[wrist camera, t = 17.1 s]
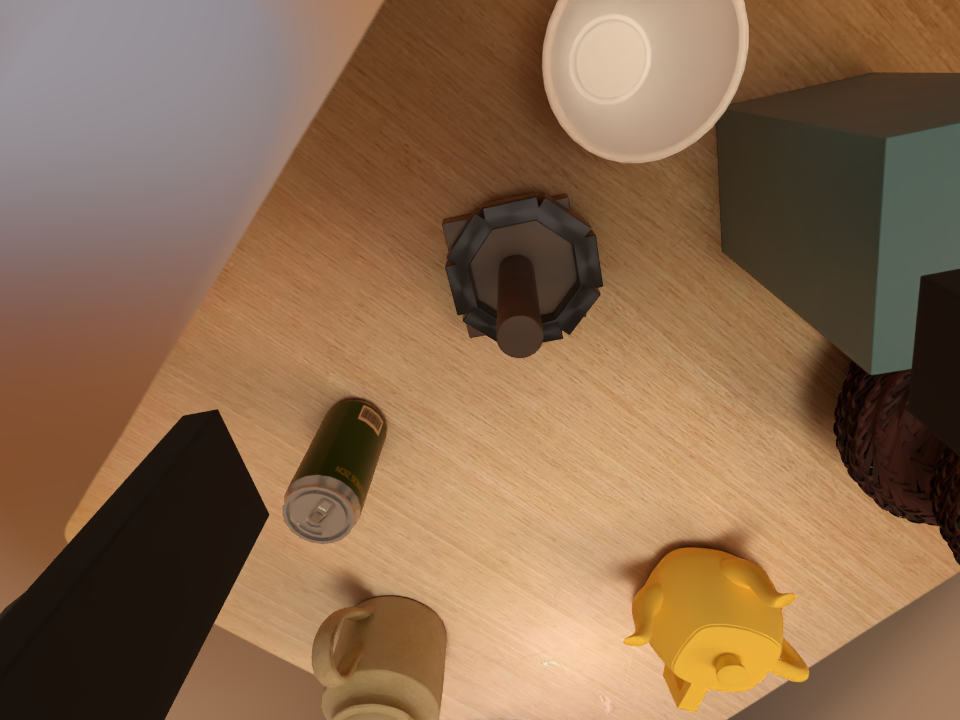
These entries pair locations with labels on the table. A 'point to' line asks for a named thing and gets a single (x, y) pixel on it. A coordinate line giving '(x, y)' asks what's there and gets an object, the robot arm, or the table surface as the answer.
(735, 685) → the teapot
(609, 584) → the table surface
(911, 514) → the vase
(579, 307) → the ring
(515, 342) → the holder
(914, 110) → the stand
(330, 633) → the lidded mug
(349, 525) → the beer can
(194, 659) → the robot arm
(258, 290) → the table surface
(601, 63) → the cup
